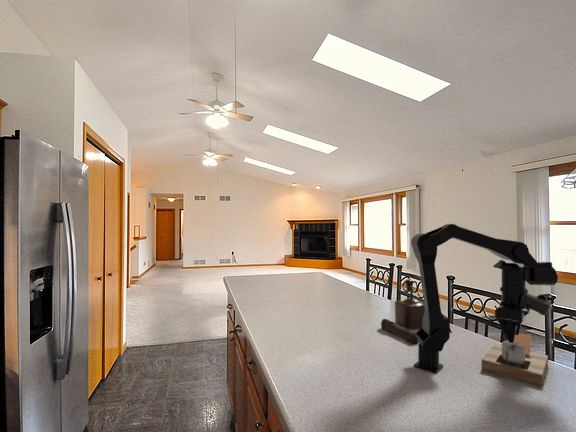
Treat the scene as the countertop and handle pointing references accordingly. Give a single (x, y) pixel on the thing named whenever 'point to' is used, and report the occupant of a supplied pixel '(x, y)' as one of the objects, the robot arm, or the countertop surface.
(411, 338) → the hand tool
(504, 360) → the peg
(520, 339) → the pink flat plate
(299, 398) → the countertop surface
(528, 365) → the hole plate
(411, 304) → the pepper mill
